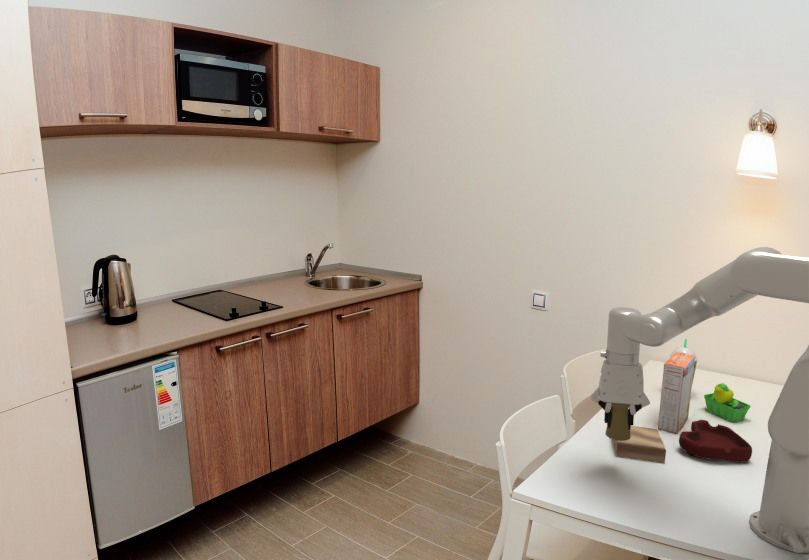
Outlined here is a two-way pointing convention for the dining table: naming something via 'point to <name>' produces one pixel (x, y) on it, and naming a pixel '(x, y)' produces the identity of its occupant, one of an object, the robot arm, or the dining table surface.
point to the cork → (619, 423)
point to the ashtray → (714, 443)
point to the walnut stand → (642, 445)
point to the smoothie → (686, 351)
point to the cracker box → (676, 392)
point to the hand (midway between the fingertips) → (618, 425)
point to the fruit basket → (725, 404)
